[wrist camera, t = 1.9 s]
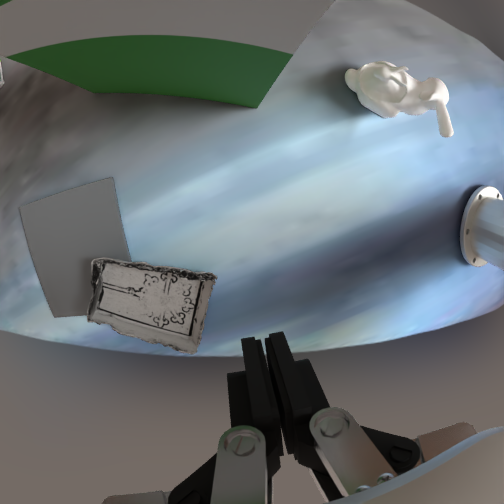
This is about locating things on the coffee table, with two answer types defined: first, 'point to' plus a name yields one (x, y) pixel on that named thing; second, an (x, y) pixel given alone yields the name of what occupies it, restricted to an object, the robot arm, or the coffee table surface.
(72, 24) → the hardback book
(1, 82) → the syrup box
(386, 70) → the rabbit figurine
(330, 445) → the robot arm
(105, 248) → the mat
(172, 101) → the coffee table surface
